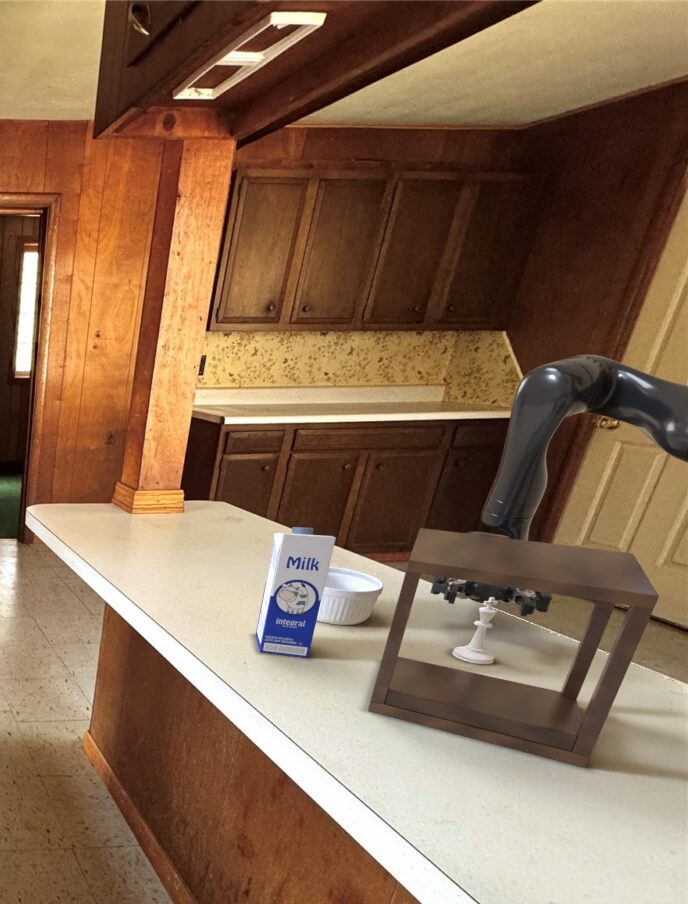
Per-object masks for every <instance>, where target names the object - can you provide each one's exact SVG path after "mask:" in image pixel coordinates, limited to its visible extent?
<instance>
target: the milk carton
mask: <svg viewBox="0 0 688 904" xmlns="http://www.w3.org/2000/svg"><path fill="white" fill-rule="evenodd" d="M273 536H274V538H273V543H272V548H271V552H270V559H269V564H268V569H267V574H266V579H265V583H264V589H263V595H262V598H261V599H262V600H261V605H260V609H259V615H258V620H257V625H256V629H255V639H256V642H257V646H258V650H259V652H260V653H267V654H273V655H281V656H290V657H297V658H305V659H306V658H307V659H309V656H310V655H309V654H310V652H311V651H310V650H311V646H312V642H313V637H314V633H315V628H316V626H317V625H316V624H317V622H318V621H317V616H318V612H319V608H320V603H321V599H322V595H323V590H324V586H325V582H326V577H327V573H328V569H329V567H330V564H331V561H332V560H331V559H332V556H333V552H334V547H335V544H336V540H337V537H335V536H333V535H318V534H314V527H302V526H299V527H298V526H293V527H292V528H291V532H290V533H289V532H277V533H273Z"/></svg>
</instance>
